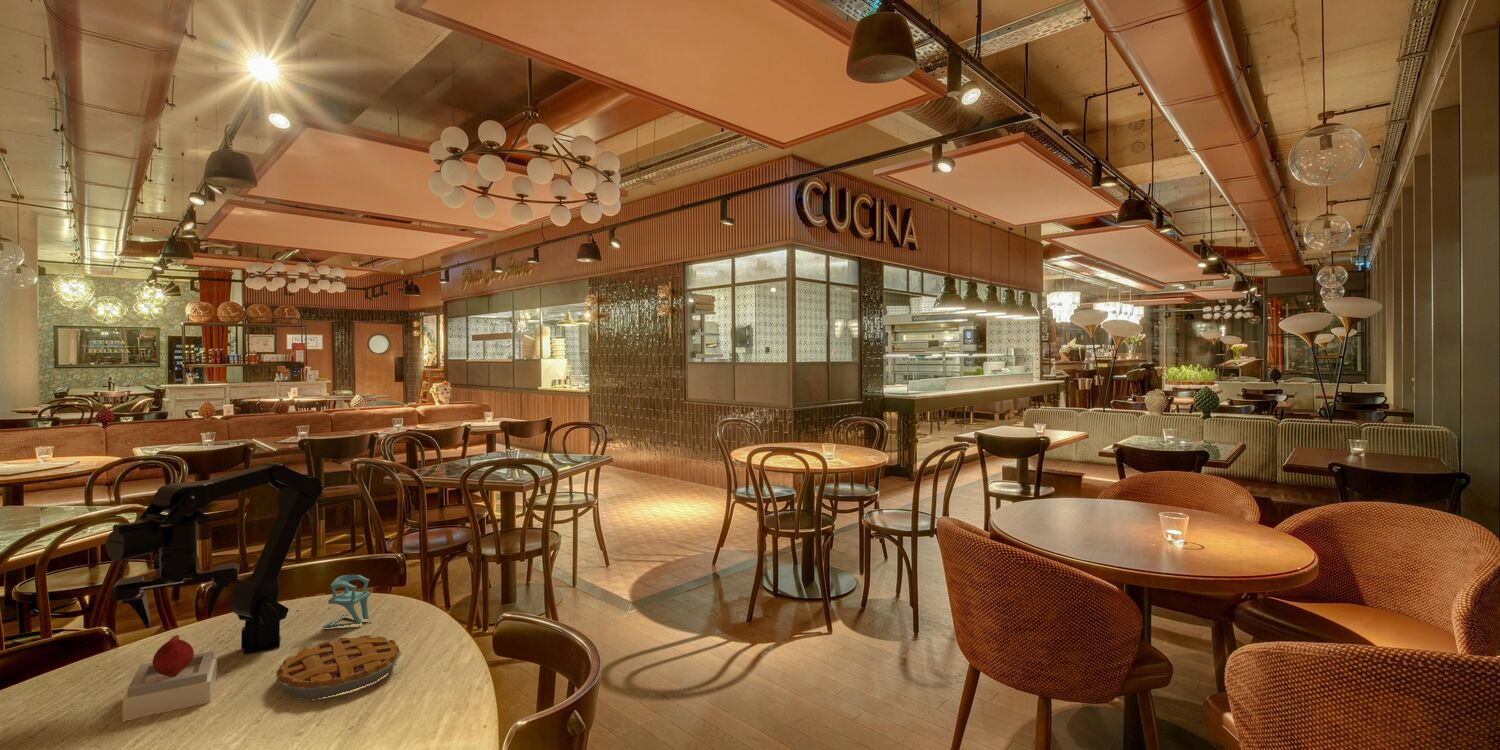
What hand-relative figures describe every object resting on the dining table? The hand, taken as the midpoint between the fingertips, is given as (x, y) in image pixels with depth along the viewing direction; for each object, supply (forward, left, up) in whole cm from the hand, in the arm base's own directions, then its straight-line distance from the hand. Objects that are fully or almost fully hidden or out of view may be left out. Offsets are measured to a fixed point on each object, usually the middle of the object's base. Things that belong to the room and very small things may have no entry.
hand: (179, 622), depth 129 cm
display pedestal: (0, +9, -12) cm, 15 cm away
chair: (-30, -13, -12) cm, 35 cm away
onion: (0, +9, -8) cm, 12 cm away
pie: (-27, +16, -12) cm, 34 cm away
